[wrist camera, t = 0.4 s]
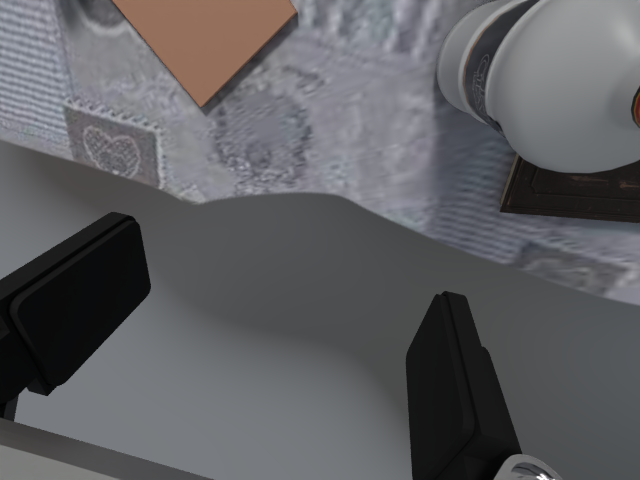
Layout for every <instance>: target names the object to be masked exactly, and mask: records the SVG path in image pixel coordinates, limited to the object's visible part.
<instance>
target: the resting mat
mask: <svg viewBox="0 0 640 480" xmlns="http://www.w3.org/2000/svg"><path fill="white" fill-rule="evenodd" d="M112 1H113V2H114V3H115V4H116V5H117V7H118V8H119V9H120V10H121V12H122V13H123V14H124V15H125V16H126V18H127V19H128V20H129V21H130V22H131V24H132V25H133V26H134V27H135V29H136V30H137V31H138V32H139V33H140V35H141V36H142V37H143V38H144V39H145V41H146V42H147V43H148V44H149V46H150V47H151V48H152V49H153V50H154V52H155V53H156V54H157V55H158V56H159V58H160V59H161V60H162V61H163V63H164V64H165V65H166V66H167V67H168V69H169V70H170V71H171V72H172V73H173V75H174V76H175V77H176V78H177V80H178V81H179V82H180V83H181V84H182V86H183V87H184V88H185V89H186V90H187V92H188V93H189V94H190V95H191V97H192V98H193V99H194V100H195V101H196V103H197V104H198V105H199V106H200V107H203V106H205V105H206V104H207V103H208V102H209V101H210V100H211V99H212V98H213V97H214V96H215V95H216V94H217V93H218V92H219V91H220V90H221V89H222V88H223V87H224V86H225V85H226V84H227V83H228V82H229V81H230V80H231V79H232V78H233V77H234V76H235V75H236V74H237V73H238V72H239V71H240V70H241V69H242V68H243V67H244V66H245V65H246V64H247V63H248V62H249V61H250V60H251V59H252V58H253V57H254V56H255V55H256V54H257V53H258V52H259V51H260V50H261V49H262V48H263V47H264V46H265V45H266V44H267V43H268V42H269V41H270V40H271V39H272V38H273V37H274V36H275V35H276V34H277V33H278V32H279V31H280V30H281V29H282V28H283V27H284V26H285V25H286V24H287V23H288V22H289V21H290V20H291V19H292V18H293V17H294V16H295V15H296V14H297V13H298V12H297V11H296V9H295V8H294V6H293V4H292V3H291V1H290V0H112Z"/></svg>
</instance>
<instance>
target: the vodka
mask: <svg viewBox="0 0 640 480" xmlns="http://www.w3.org/2000/svg"><path fill="white" fill-rule="evenodd" d="M436 73H437V81H438V85H439V88H440V90H441V92H442V94H443V96H444V97H445V99H446V100H447V101H448V102H449V103H450V104H451V105H453V106H454V107H455V108H457V109H459V110H461V111H463V112H466V113H469V114H471V115H472V116H473V117H474V118H475V119H477V120H478V121H480V122H482V123H485V124H487V125H490V126H491V127H492V128H494V129H495V130H496V131H497V132H499V133H500V134H501V135H502V136H504V137H505V138H506V139H507V140H508V142H509V144H510V146H511V147H512V149H513V150H515V151H516V152H517V153H518V154H519V155H520V156H521V157H522V158H523V159H524V160H526V161H528V162H530V163H532V164H534V165H536V166H538V167H540V168H544V169H548V170H553V171H557V172H565V173H594V172H600V171H606V170H612V169H615V168H618V167H621V166H624V165H627V164H630V163H633V162H636V161H638V160H640V0H496V1H493V2H490V3H486V4H484V5H481V6H479V7H477V8H475V9H473V10H472V11H470V12H469V13H467V14H466V15H465V16H463V17H462V18H461V19H460V20H459V21H458V22H457V23H456V24H455V25H454V26H453V28H452V29H451V30H450V32H449V33H448V35H447V37H446V38H445V40H444V42H443V44H442V47H441V49H440V52H439V55H438V60H437V68H436Z"/></svg>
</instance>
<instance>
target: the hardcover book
mask: <svg viewBox="0 0 640 480" xmlns="http://www.w3.org/2000/svg"><path fill="white" fill-rule="evenodd" d="M500 204H501V205H502V206H501V209H500V212H504V213H517V214H530V215H543V216H556V217H568V218H581V219H594V220H607V221H620V222H632V223H640V160H638V161H636V162H633V163H630V164H627V165H624V166H621V167H618V168H615V169H612V170H606V171H600V172H594V173H565V172H557V171H553V170H548V169H544V168H540V167H538V166H536V165H534V164H532V163H530V162H528V161H526V160H524V159H523V158H522V157H521V156H520V155H519V154H518V153H516V156H515V159H514V162H513V165H512V168H511V171H510V174H509V177H508V180H507V183H506V186H505V189H504V192H503V195H502V198H501V201H500Z"/></svg>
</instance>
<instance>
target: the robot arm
mask: <svg viewBox="0 0 640 480" xmlns="http://www.w3.org/2000/svg"><path fill="white" fill-rule="evenodd" d="M150 289H151V284H150V278H149V273H148V267H147V263H146V257H145V251H144V246H143V241H142V235H141V230H140V226H139V224H138V223H137V222H136V220H135V219H134V218H133V217H132V216H129V215H125V214H121V213H117V212H111V213H108V214H107V215H105V216H104V217H102V218H100V219H99V220H97V221H96V222H94V223H92V224H91V225H89V226H87V227H86V228H84V229H82V230H81V231H79V232H78V233H76V234H74V235H73V236H71V237H69V238H68V239H66V240H64V241H63V242H61V243H60V244H58V245H56V246H55V247H53V248H51V249H50V250H48V251H47V252H45V253H43V254H42V255H40V256H38V257H37V258H35V259H34V260H32V261H30V262H29V263H27V264H25V265H24V266H22V267H20V268H19V269H17V270H16V271H14V272H13V273H11V274H9V275H8V276H6V277H4V278H3V279H1V280H0V480H214V479H210V478H206V477H203V476H200V475H196V474H193V473H190V472H186V471H183V470H179V469H176V468H172V467H169V466H165V465H162V464H158V463H155V462H152V461H148V460H145V459H142V458H138V457H135V456H131V455H128V454H124V453H121V452H117V451H114V450H110V449H107V448H104V447H100V446H97V445H93V444H90V443H86V442H83V441H79V440H76V439H72V438H69V437H65V436H62V435H58V434H55V433H51V432H48V431H44V430H41V429H37V428H34V427H30V426H27V425H23V424H20V423H16V422H14V419H15V413H16V407H17V402H18V396H19V393H21V392H22V391H23V390H24V388H26V387H27V389H28V390H29V391H31V392H34V393H38V394H41V395H45V396H48V395H49V394H50V393H51V392H52V391H53V390H54V389H55V388H56V387H57V386H59V385H62V384H64V383H65V382H66V381H67V380H68V379H69V378H70V377H71V376H72V375H73V374H74V373H75V372H76V371H77V370H78V369H79V368H80V367H81V365H82V364H83V363H84V362H85V361H86V360H87V359H88V358H89V357H90V356H91V355H92V354H93V353H94V352H95V351H96V350H97V349H98V348H99V347H100V346H101V345H102V343H103V342H104V341H105V340H106V339H107V338H108V337H109V336H110V335H111V334H112V333H113V332H114V331H115V330H116V329H117V328H118V326H119V325H120V324H121V323H122V322H123V321H124V320H125V319H126V318H127V317H128V316H129V315H130V314H131V313H132V312H133V311H134V310H135V309H136V307H137V306H138V305H139V304H140V303H141V302H142V301H143V300H144V299H145V298H146V297H147V296H148V294H149V292H150ZM406 375H407V392H408V410H409V427H410V442H411V443H410V444H411V461H412V477H413V480H563V479H562V478H561V477H560V476H559V475H558V474H557V473H556V472H555V471H554V470H553V469H551V468H550V467H549V466H547V465H546V464H545V463H543V462H542V461H540V460H538V459H536V458H534V457H532V456H528V455H523V454H522V451H521V448H520V446H519V442H518V439H517V436H516V433H515V430H514V427H513V424H512V421H511V418H510V415H509V412H508V409H507V406H506V403H505V400H504V396H503V393H502V390H501V388H500V384H499V381H498V378H497V375H496V372H495V369H494V366H493V363H492V360H491V357H490V354H489V352H488V350H487V349H486V348H485V347H482V346H481V343H480V340H479V336H478V333H477V330H476V327H475V323H474V320H473V317H472V314H471V311H470V308H469V304H468V301H467V298H466V297H465V296H464V295H460V294H456V293H452V292H447V291H444V292H443V293H442V294H441V295H438V294H436V295H435V297H434V299H433V301H432V303H431V305H430V307H429V309H428V311H427V313H426V315H425V317H424V319H423V321H422V323H421V325H420V327H419V329H418V331H417V333H416V335H415V337H414V339H413V341H412V343H411V345H410V347H409V349H408V352H407V356H406Z"/></svg>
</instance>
